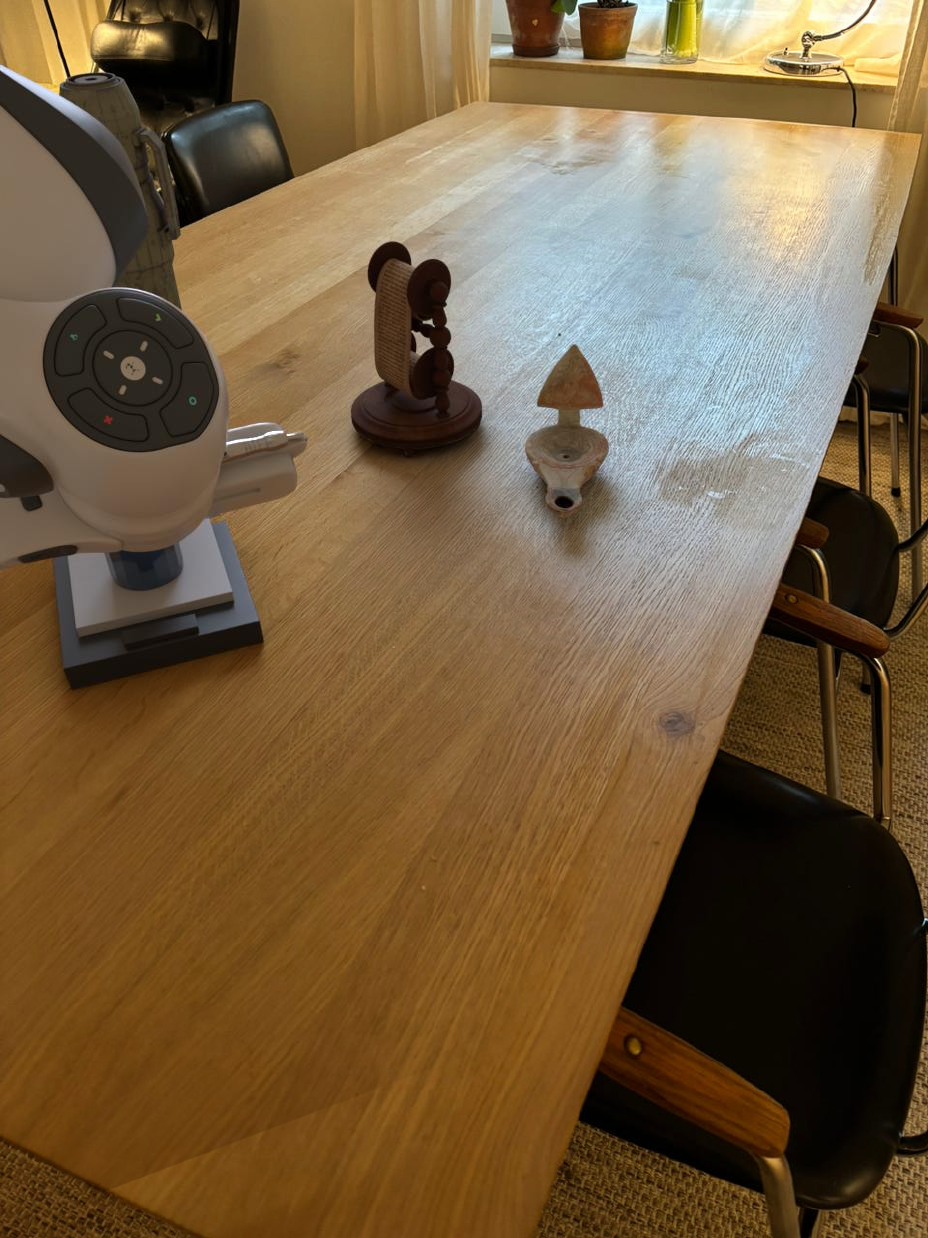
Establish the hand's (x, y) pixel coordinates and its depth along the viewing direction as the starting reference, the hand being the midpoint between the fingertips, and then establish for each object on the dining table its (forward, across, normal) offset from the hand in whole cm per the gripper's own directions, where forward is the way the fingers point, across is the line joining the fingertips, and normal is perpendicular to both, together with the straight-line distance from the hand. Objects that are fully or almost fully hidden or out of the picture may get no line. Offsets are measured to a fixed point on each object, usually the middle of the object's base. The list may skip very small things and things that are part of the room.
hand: (140, 524), depth 69 cm
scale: (+21, 0, +3) cm, 21 cm away
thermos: (+47, -10, -23) cm, 53 cm away
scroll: (+34, -34, -10) cm, 49 cm away
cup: (+19, -1, 0) cm, 19 cm away
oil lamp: (+22, -44, +2) cm, 49 cm away
